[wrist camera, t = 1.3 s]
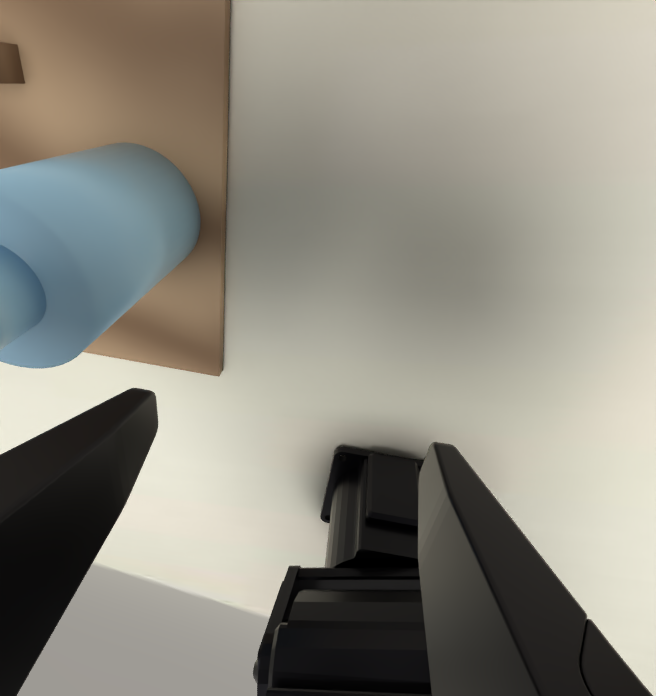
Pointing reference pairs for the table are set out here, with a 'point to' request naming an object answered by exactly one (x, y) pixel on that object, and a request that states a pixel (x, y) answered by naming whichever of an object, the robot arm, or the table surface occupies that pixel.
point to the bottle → (85, 245)
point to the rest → (132, 136)
